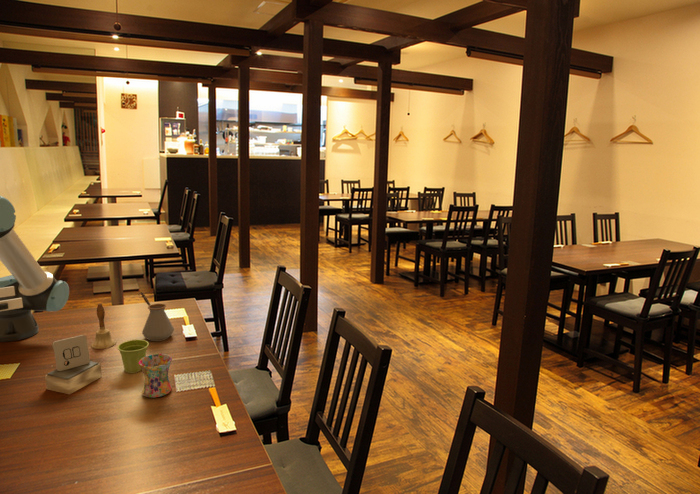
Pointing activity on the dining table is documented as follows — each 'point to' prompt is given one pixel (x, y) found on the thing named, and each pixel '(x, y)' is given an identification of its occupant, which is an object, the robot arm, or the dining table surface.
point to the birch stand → (73, 378)
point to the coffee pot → (157, 322)
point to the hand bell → (102, 332)
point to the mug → (156, 375)
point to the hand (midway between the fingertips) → (18, 296)
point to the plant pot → (133, 354)
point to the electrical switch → (71, 352)
